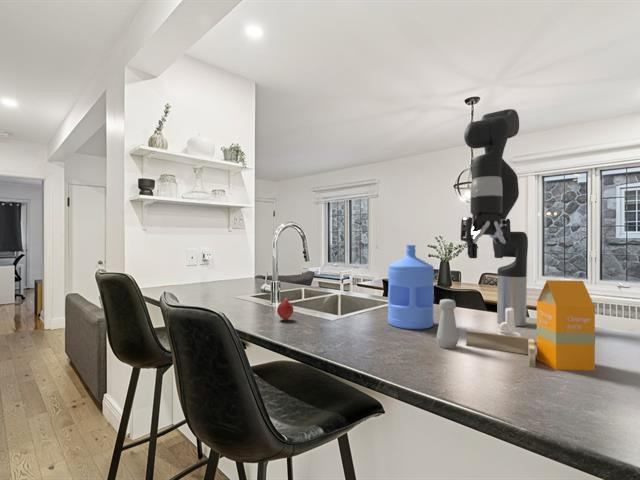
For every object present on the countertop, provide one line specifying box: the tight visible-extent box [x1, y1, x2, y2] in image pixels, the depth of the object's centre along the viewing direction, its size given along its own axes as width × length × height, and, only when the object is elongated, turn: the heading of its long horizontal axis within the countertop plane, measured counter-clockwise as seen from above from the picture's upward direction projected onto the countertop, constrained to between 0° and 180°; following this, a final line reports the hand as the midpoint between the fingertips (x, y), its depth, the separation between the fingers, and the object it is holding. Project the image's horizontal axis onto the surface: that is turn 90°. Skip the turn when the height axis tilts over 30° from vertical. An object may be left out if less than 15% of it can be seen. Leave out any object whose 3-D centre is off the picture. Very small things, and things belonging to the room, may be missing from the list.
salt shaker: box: [436, 298, 460, 350], centre depth 97 cm, size 6×6×13 cm
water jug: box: [387, 244, 435, 330], centre depth 124 cm, size 16×16×28 cm
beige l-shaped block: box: [465, 329, 536, 368], centre depth 91 cm, size 12×16×4 cm
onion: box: [276, 298, 294, 321], centre depth 128 cm, size 6×6×8 cm
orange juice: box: [536, 279, 596, 371], centre depth 84 cm, size 8×9×20 cm
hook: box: [496, 308, 524, 337], centre depth 105 cm, size 8×12×7 cm
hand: (485, 258), depth 91 cm, fingers open, 8 cm apart
